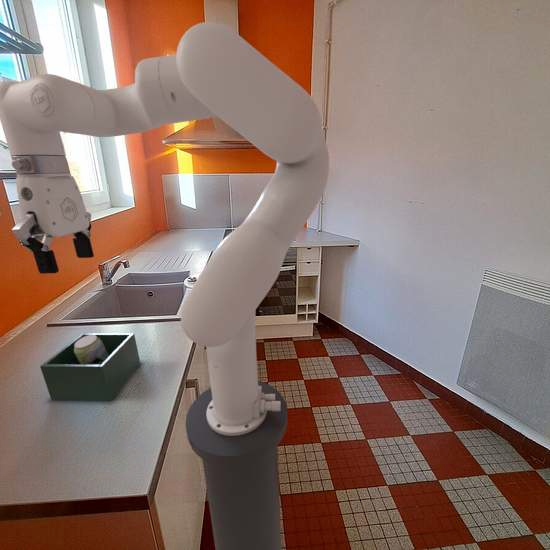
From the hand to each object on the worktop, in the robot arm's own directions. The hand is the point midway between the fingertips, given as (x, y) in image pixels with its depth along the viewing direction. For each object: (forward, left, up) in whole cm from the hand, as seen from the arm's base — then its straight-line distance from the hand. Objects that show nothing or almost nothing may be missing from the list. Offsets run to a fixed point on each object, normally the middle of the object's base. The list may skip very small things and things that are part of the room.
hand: (69, 264), depth 57 cm
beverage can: (+8, -10, -34) cm, 36 cm away
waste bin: (+8, -10, -34) cm, 36 cm away
